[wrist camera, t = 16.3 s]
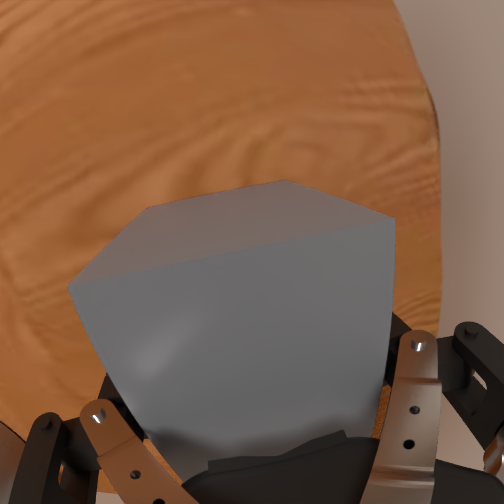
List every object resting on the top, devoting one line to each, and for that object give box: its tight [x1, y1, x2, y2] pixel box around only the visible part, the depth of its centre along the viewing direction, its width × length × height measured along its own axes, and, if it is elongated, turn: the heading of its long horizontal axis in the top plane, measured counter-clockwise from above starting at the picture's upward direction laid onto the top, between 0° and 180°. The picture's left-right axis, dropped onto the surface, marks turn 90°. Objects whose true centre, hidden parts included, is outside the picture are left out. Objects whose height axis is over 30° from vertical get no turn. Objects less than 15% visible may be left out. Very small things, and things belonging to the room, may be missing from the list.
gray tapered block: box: [67, 180, 395, 482], centre depth 11 cm, size 10×7×9 cm, turn 9°
